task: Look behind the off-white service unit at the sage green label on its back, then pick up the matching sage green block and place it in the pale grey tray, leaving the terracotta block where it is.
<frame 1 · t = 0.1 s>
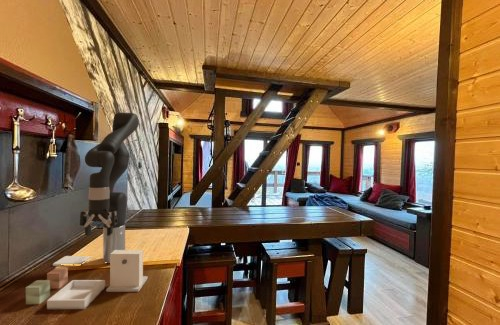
hand: (98, 235, 99), 17 cm above the kitchen counter, tool pointing down, fingers open, 8 cm apart
terracotta block: (57, 285, 92), on the kitchen counter
sage block: (38, 300, 83), on the kitchen counter
tray: (78, 297, 84), on the kitchen counter
service unit: (128, 284, 93), on the kitchen counter
external hard drive: (73, 263, 110), on the kitchen counter
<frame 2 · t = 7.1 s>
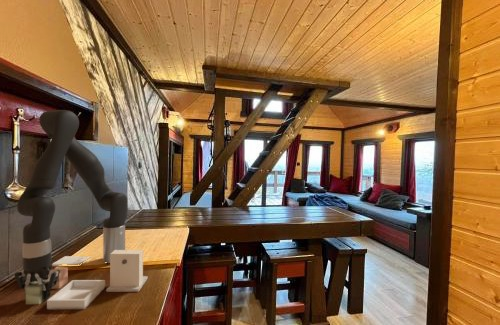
hand: (38, 298, 83), 0 cm above the kitchen counter, tool pointing down, fingers closed on sage block, 4 cm apart
sage block: (38, 300, 83), on the kitchen counter, touching gripper
everything else where it was.
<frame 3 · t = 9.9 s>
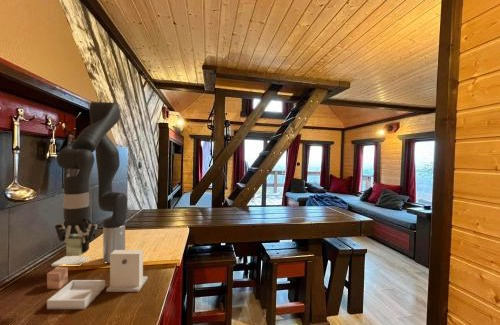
hand: (77, 251, 83), 17 cm above the kitchen counter, tool pointing down, fingers closed on sage block, 4 cm apart
sage block: (77, 252, 83), point 17 cm above the kitchen counter, touching gripper
everything else where it was.
when the fingers open (3 cm above the kitchen counter, at t = 12.9 s): sage block drops 2 cm, resting on tray.
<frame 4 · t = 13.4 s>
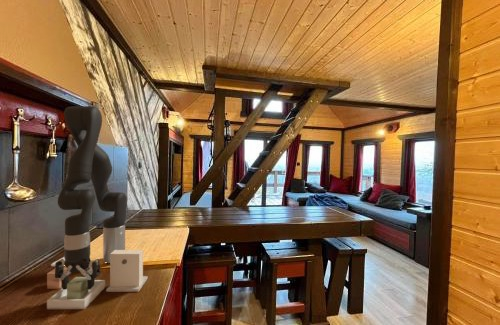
hand: (78, 288, 84), 4 cm above the kitchen counter, tool pointing down, fingers open, 8 cm apart
sage block: (78, 296, 84), point 1 cm above the kitchen counter, touching tray
everything else where it was.
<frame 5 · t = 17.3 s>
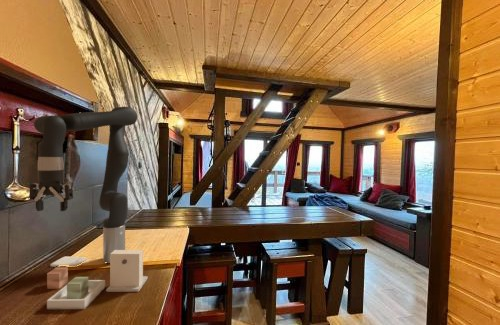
hand: (51, 210, 89), 30 cm above the kitchen counter, tool pointing down, fingers open, 8 cm apart
at the end: sage block inside the target area on the tray (0.0 cm from its centre), point 0.6 cm above the tray's base; sage block tilted 0°; terracotta block moved 0.1 cm from its start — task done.
